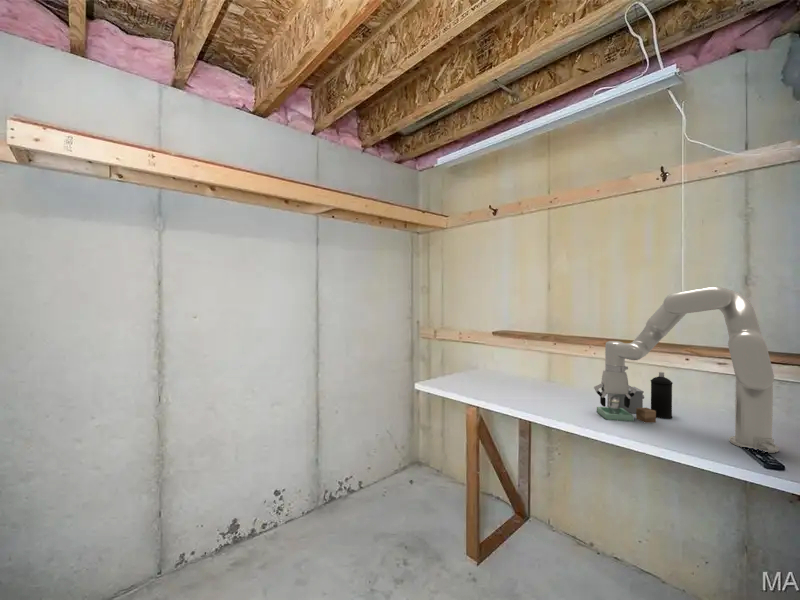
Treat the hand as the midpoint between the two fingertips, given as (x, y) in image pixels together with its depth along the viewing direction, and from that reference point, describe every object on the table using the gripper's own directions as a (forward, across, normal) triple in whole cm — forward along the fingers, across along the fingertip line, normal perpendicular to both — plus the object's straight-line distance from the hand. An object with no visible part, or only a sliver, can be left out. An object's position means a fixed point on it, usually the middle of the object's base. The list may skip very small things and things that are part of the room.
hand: (614, 406), depth 158 cm
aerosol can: (+5, -21, -5) cm, 22 cm away
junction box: (+5, -8, -11) cm, 14 cm away
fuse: (+4, 0, 0) cm, 4 cm away
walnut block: (+5, -11, +3) cm, 13 cm away
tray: (+5, 0, 0) cm, 5 cm away
